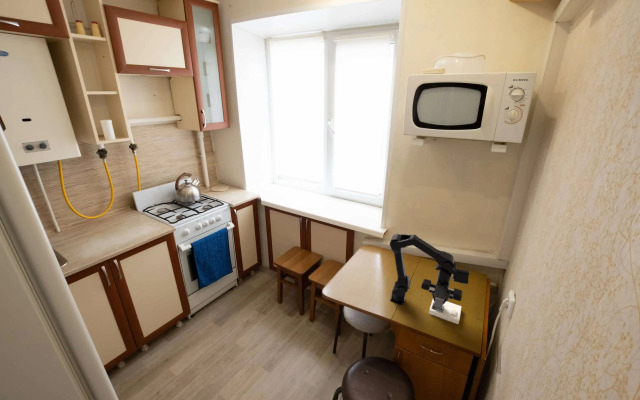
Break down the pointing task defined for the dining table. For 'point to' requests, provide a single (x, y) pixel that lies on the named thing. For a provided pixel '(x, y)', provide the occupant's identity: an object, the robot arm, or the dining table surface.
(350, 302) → the dining table surface
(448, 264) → the robot arm
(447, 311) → the socket plate
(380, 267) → the dining table surface
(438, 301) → the plug
